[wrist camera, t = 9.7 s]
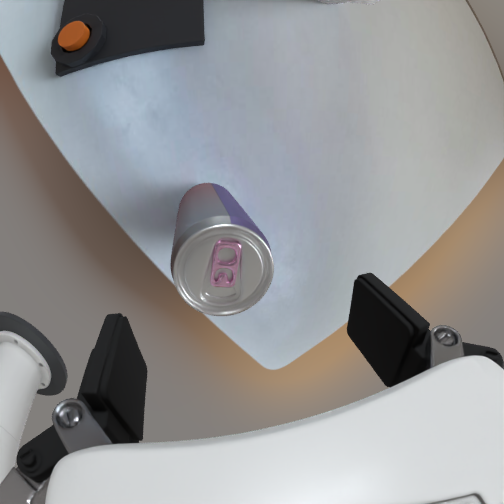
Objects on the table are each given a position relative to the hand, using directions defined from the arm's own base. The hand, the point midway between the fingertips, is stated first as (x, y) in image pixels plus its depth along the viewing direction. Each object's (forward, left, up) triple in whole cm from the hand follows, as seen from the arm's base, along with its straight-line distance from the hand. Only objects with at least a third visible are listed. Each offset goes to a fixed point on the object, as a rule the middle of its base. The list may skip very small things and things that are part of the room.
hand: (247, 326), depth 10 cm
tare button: (-12, +21, -17) cm, 30 cm away
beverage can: (0, 0, -20) cm, 20 cm away
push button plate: (-7, +25, -20) cm, 33 cm away
